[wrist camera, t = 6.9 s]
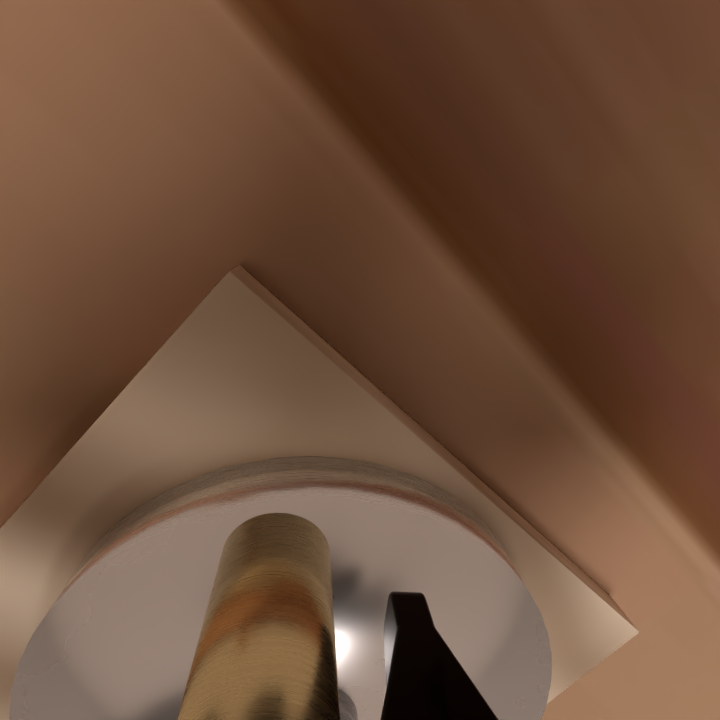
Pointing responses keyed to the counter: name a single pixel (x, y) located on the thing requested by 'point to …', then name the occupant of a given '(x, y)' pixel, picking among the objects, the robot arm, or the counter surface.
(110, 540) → the handwheel
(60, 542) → the base plate
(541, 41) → the counter surface
